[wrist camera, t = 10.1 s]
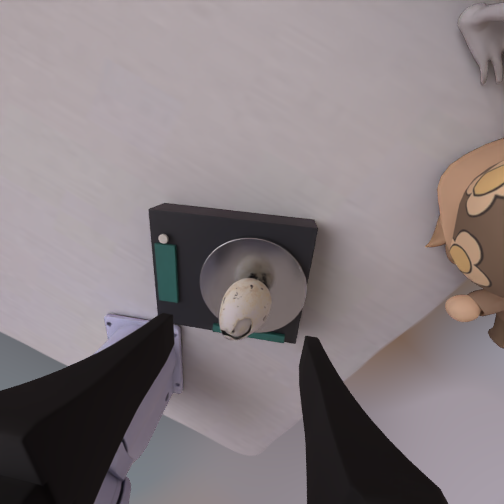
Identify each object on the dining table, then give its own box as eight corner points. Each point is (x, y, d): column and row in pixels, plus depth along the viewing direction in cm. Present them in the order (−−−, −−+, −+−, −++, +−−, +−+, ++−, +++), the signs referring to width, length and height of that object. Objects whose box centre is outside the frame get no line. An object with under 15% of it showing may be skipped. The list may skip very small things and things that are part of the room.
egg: (265, 311, 18) (258, 364, 13) (225, 298, 18) (204, 347, 13) (278, 277, 17) (275, 322, 12) (235, 263, 17) (216, 303, 12)
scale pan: (297, 335, 19) (297, 340, 18) (202, 319, 20) (199, 324, 19) (315, 242, 16) (316, 245, 15) (201, 229, 17) (199, 231, 16)
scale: (294, 325, 22) (295, 348, 19) (170, 305, 23) (155, 324, 20) (314, 219, 18) (319, 230, 15) (164, 202, 19) (144, 210, 16)
